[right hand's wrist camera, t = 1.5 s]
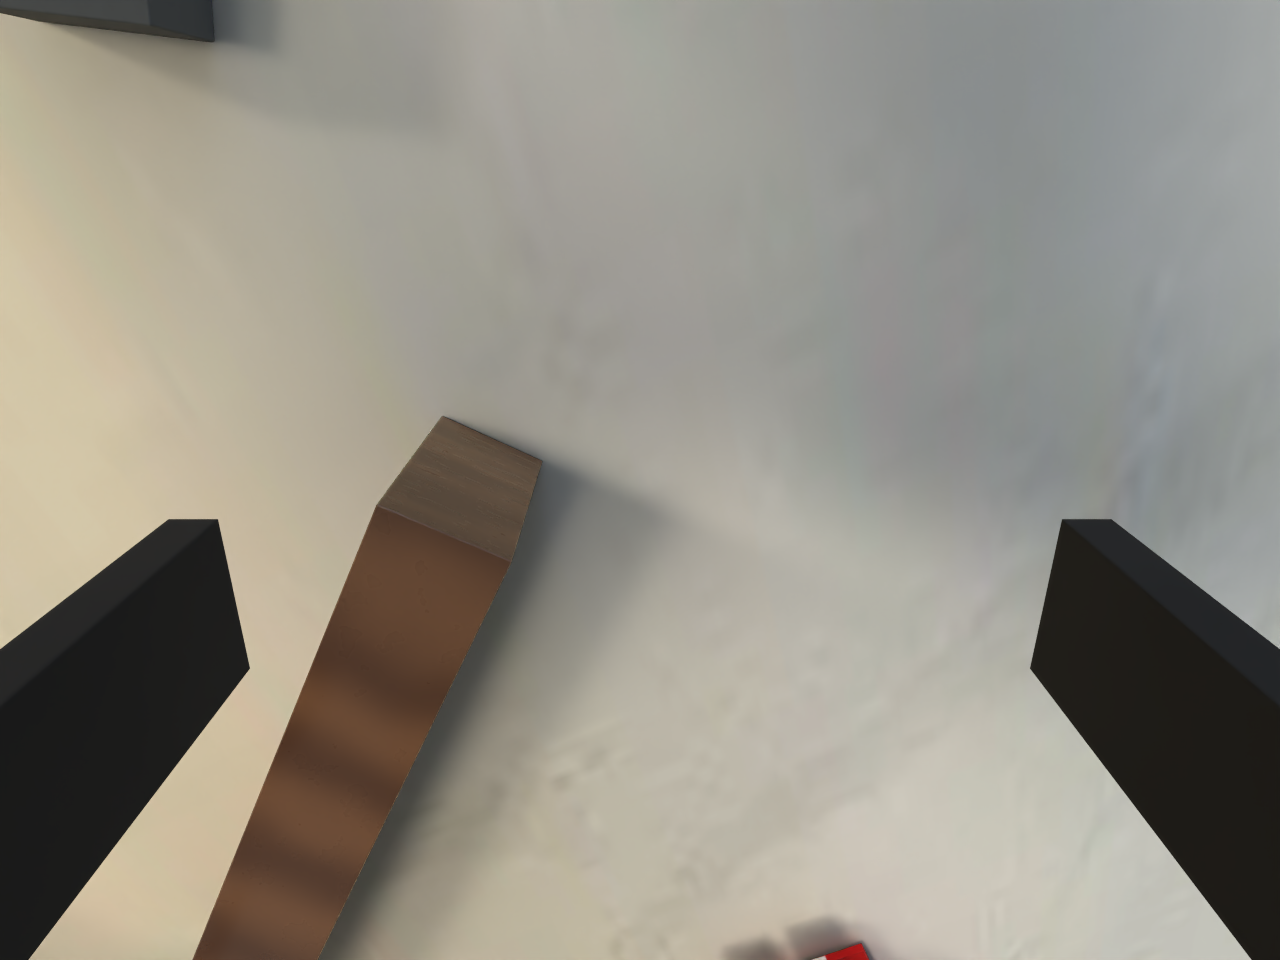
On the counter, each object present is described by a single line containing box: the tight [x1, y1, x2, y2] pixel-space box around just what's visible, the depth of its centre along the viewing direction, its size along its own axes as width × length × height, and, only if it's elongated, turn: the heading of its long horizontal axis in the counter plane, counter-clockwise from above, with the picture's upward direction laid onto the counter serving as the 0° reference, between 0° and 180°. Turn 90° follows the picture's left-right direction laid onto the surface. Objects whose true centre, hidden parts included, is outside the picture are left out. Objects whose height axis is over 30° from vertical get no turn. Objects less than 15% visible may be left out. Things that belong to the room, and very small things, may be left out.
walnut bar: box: [193, 416, 542, 960], centre depth 35 cm, size 34×4×9 cm, turn 154°
